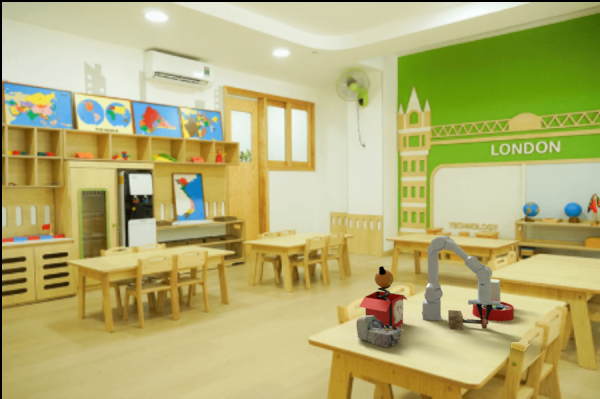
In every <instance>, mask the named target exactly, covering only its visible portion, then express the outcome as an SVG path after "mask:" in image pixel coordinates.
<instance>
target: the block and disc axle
mask: <svg viewBox="0 0 600 399" xmlns="http://www.w3.org/2000/svg"><path fill="white" fill-rule="evenodd" d="M463 324H473V325H480V326H481V328H482V329H487V328H488V325H489V320H488V321H487V318H486V316H482V320H481V319H473V318H471V319H470V318H463Z"/></svg>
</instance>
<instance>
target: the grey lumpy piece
mask: <svg viewBox="0 0 600 399" xmlns="http://www.w3.org/2000/svg"><path fill="white" fill-rule="evenodd" d="M355 325H356V332H357V338H358V339H359V340H363V341H366V342H368V343H370V342H371V343H370V344H372V343H374V344H373V345H375V344H376V346H379V345H380V346H379V347H384V348H388V347H391V346H393V345H394V346H395V344H396V342H397V341H401V338H400V337H402V336H403V334H401V332H403V331H404V329H402V328H400V326H399V327H396V326H395V324H392V326H389V324H387V325H386V326H384V324H383V323H382V321H380V320H377V319H376V317H375V316H374V315H367V316H366V315H363V316H362V317H359V318H357V319H356V324H355Z"/></svg>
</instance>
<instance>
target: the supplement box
mask: <svg viewBox="0 0 600 399" xmlns="http://www.w3.org/2000/svg"><path fill="white" fill-rule="evenodd" d="M491 300H494V301H501V279H496V278H491Z"/></svg>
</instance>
